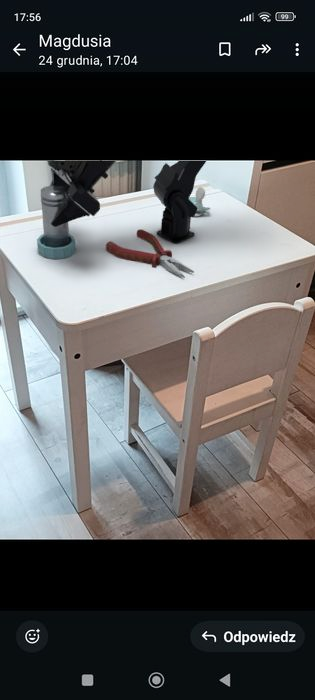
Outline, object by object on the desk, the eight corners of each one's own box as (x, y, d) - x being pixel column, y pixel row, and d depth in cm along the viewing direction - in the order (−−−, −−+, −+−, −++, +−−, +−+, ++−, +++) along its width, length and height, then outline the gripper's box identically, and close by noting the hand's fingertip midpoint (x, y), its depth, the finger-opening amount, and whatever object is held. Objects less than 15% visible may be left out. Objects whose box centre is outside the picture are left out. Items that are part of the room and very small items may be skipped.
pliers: (169, 289, 113) (170, 278, 112) (103, 252, 124) (103, 241, 123) (206, 270, 120) (208, 259, 119) (140, 236, 131) (141, 226, 129)
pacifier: (191, 220, 138) (212, 215, 140) (193, 196, 134) (214, 191, 136) (176, 208, 143) (197, 204, 145) (178, 184, 139) (199, 180, 141)
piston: (53, 240, 125) (49, 183, 117) (74, 246, 123) (72, 189, 115) (39, 250, 121) (35, 192, 113) (61, 256, 119) (57, 198, 111)
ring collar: (59, 238, 127) (58, 228, 125) (82, 251, 123) (82, 241, 121) (30, 249, 122) (29, 239, 121) (53, 262, 118) (52, 252, 117)
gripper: (58, 116, 115) (9, 174, 118) (82, 147, 101) (25, 211, 105) (96, 152, 122) (49, 206, 126) (123, 186, 109) (69, 244, 112)
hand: (47, 215), depth 117 cm, fingers open, 9 cm apart
